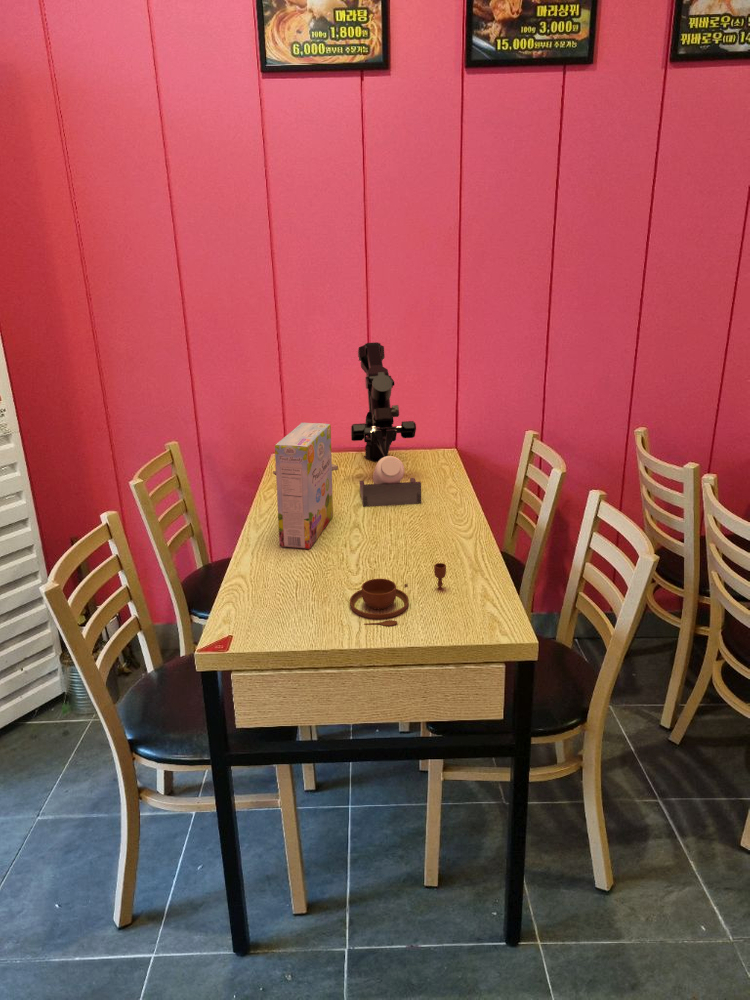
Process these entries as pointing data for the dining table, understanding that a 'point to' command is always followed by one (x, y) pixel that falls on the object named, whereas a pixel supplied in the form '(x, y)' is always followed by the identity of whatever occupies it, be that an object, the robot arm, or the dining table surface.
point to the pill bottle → (388, 470)
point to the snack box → (304, 484)
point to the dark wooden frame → (391, 493)
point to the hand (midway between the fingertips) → (385, 456)
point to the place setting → (387, 596)
